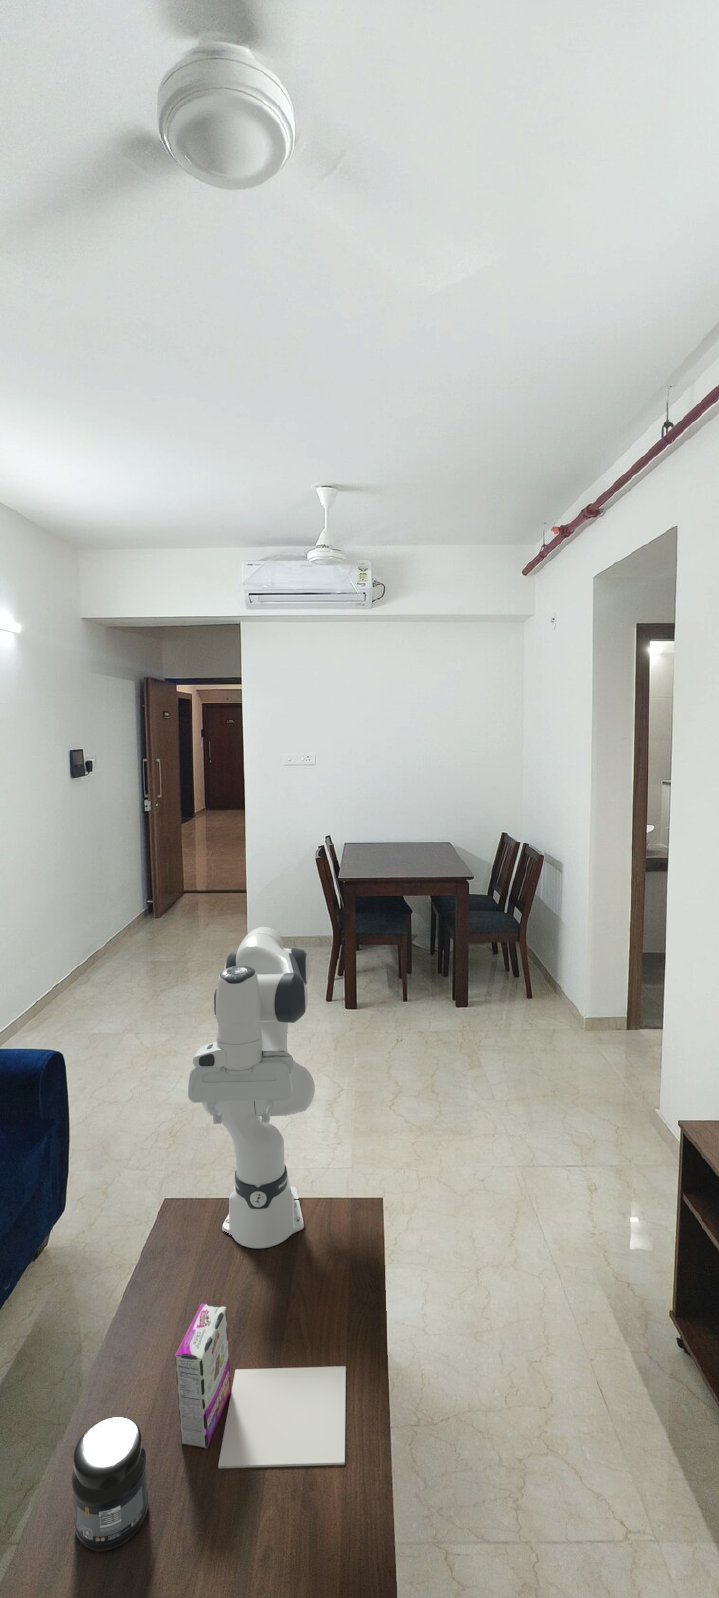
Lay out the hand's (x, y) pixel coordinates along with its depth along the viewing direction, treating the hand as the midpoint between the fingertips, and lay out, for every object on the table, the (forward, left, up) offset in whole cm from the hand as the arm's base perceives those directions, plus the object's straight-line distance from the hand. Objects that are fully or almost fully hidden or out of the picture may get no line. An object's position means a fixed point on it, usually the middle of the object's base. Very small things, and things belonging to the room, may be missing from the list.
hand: (242, 1122), depth 151 cm
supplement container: (+41, -15, -39) cm, 58 cm away
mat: (+25, +9, -39) cm, 47 cm away
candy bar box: (+25, -4, -39) cm, 47 cm away
